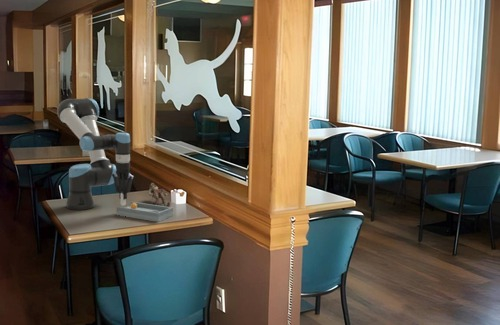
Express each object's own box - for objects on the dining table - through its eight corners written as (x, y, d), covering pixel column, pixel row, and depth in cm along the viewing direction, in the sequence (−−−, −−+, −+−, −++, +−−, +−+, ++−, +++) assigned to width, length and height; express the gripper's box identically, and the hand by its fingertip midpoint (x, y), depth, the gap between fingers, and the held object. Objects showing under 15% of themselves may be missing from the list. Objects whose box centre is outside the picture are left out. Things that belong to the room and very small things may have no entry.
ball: (129, 209, 312) (129, 203, 311) (132, 208, 315) (133, 202, 314) (134, 210, 310) (134, 204, 310) (138, 209, 314) (138, 202, 313)
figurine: (158, 197, 319) (146, 176, 345) (152, 213, 321) (140, 192, 347) (177, 201, 325) (163, 181, 350) (170, 217, 327) (157, 196, 352)
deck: (116, 215, 309) (116, 206, 308) (132, 209, 322) (132, 201, 321) (158, 221, 299) (158, 213, 298) (172, 215, 312) (172, 207, 311)
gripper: (108, 161, 310) (109, 204, 314) (128, 163, 305) (129, 207, 309) (117, 159, 317) (117, 202, 321) (137, 162, 312) (137, 205, 316)
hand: (123, 204), depth 315 cm, fingers closed
